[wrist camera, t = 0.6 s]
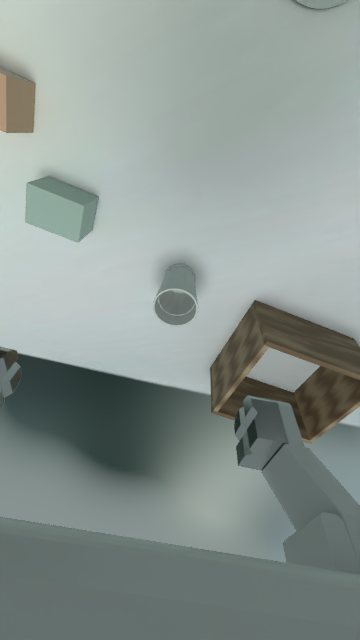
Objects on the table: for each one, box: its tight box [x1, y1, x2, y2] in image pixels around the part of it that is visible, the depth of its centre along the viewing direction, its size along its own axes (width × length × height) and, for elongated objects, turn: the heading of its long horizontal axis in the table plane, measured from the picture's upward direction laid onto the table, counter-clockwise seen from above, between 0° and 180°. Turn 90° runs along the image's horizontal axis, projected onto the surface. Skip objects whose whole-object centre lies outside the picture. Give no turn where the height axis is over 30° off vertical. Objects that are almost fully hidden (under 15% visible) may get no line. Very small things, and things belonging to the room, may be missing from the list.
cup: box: [153, 264, 198, 327], centre depth 52 cm, size 8×8×12 cm
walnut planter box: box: [210, 300, 360, 443], centre depth 61 cm, size 23×26×14 cm
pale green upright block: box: [25, 176, 99, 242], centre depth 46 cm, size 6×9×7 cm
